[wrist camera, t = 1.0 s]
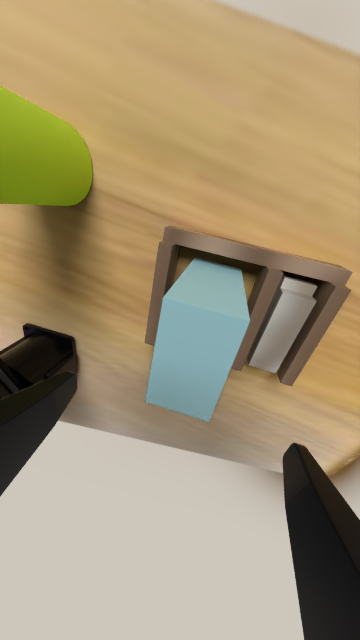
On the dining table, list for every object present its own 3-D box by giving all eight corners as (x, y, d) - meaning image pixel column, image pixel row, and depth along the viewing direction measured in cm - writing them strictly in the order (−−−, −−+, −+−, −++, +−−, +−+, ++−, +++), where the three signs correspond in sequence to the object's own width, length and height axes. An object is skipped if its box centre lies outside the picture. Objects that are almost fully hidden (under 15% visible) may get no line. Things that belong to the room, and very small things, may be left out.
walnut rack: (154, 327, 23) (144, 342, 20) (171, 225, 18) (161, 227, 15) (284, 364, 21) (291, 386, 19) (339, 265, 17) (360, 276, 14)
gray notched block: (246, 346, 22) (248, 365, 19) (279, 271, 18) (287, 281, 15) (270, 353, 21) (275, 373, 19) (309, 279, 18) (322, 290, 15)
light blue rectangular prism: (179, 325, 22) (145, 401, 13) (195, 256, 19) (163, 297, 10) (218, 336, 22) (208, 422, 13) (241, 268, 18) (250, 321, 9)
